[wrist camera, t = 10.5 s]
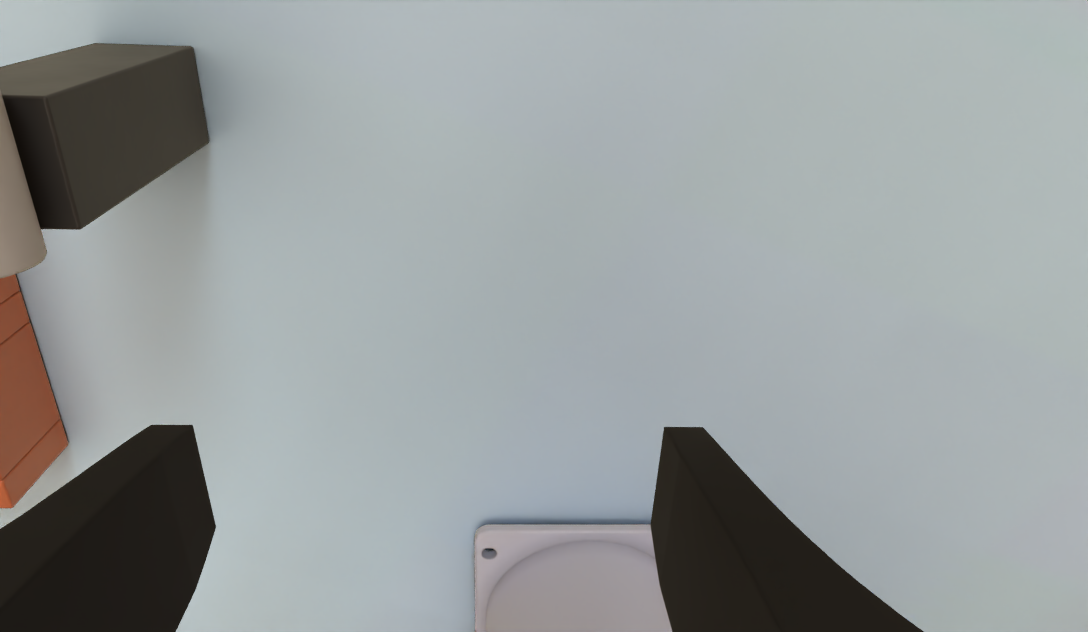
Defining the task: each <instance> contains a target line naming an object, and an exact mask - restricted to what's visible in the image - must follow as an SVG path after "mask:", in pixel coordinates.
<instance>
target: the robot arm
mask: <svg viewBox="0 0 1088 632" xmlns="http://www.w3.org/2000/svg"><path fill="white" fill-rule="evenodd" d="M215 528H216V525H215V521H214V517H213V512H212V508H211V503H210V499H209V495H208V490H207V486H206V481H205V477H204V473H203V468H202V464H201V460H200V455H199V451H198V446H197V442H196V438H195V433H194V429H193V425H151V426H149V427H147V428H146V429H144V430H143V431H141V432H139V433H138V434H136V435H135V436H133V437H132V438H130V439H129V440H128V441H126V442H125V443H123V444H122V445H120V446H119V447H118V448H116V449H115V450H113V451H112V452H110V453H109V454H108V455H106V456H105V457H103V458H102V459H101V460H99V461H98V462H96V463H95V464H94V465H92V466H91V467H89V468H88V469H87V470H85V471H84V472H82V473H81V474H80V475H78V476H77V477H75V478H74V479H73V480H71V481H70V482H68V483H67V484H65V485H64V486H63V487H61V488H60V489H58V490H57V491H56V492H54V493H53V494H51V495H50V496H48V497H47V498H46V499H44V500H43V501H41V502H40V503H38V504H37V505H36V506H34V507H33V508H31V509H30V510H28V511H27V512H26V513H24V514H23V515H21V516H20V517H18V518H17V519H15V520H13V521H12V522H10V523H9V524H7V525H6V526H4V527H3V528H1V529H0V632H176V630H177V628H178V625H179V623H180V621H181V619H182V617H183V615H184V613H185V611H186V609H187V607H188V604H189V602H190V600H191V598H192V596H193V594H194V592H195V589H196V587H197V584H198V581H199V578H200V575H201V572H202V569H203V566H204V563H205V560H206V557H207V554H208V551H209V548H210V544H211V541H212V538H213V535H214V532H215ZM486 548H492V549H494V550H492V551H487V550H485V549H486ZM475 632H923V631H922V630H921V629H919V628H918V627H916V626H915V625H914V624H912V623H911V622H910V621H908V620H907V619H905V618H904V617H903V616H901V615H900V614H899V613H897V612H896V611H895V610H894V609H892V608H891V607H890V606H888V605H887V604H886V603H885V602H883V601H882V600H881V599H880V598H878V597H877V596H876V595H874V594H873V593H872V592H871V591H869V590H868V589H867V588H866V587H864V586H863V585H862V584H860V583H859V582H858V581H857V580H856V579H854V578H853V577H852V576H851V575H850V574H848V573H847V572H846V571H845V570H844V569H842V568H841V567H840V566H839V565H838V564H837V563H836V562H834V561H833V560H832V559H831V558H830V557H829V556H828V555H827V554H826V553H825V552H823V551H822V550H821V549H820V548H819V547H818V546H817V545H816V544H815V543H813V542H812V541H811V540H810V539H809V538H808V537H807V536H806V535H805V534H804V533H803V532H802V531H801V530H800V529H798V528H797V527H796V526H795V525H794V524H793V523H792V522H791V521H790V520H789V519H788V518H787V517H786V516H785V515H784V514H783V513H782V512H781V511H780V510H779V509H778V508H777V507H776V506H775V505H774V504H773V503H772V502H771V501H770V500H769V499H768V498H767V496H766V495H765V494H764V493H763V492H762V491H761V490H760V489H759V488H758V487H757V486H756V485H755V484H754V483H753V482H752V481H751V479H750V478H749V477H748V476H747V475H746V474H745V473H744V472H743V471H742V470H741V469H740V468H739V466H738V465H737V464H736V463H735V462H734V461H733V460H732V459H731V458H730V456H729V455H728V454H727V453H726V452H725V451H724V450H723V449H722V448H721V447H720V445H719V444H718V443H717V442H716V441H715V440H714V439H713V438H712V437H711V436H710V435H709V433H708V432H707V431H706V430H705V429H704V428H703V427H664V433H663V440H662V447H661V454H660V461H659V468H658V476H657V483H656V490H655V497H654V504H653V511H652V519H651V524H489V525H483V526H481V527H479V528H478V530H477V531H476V533H475Z"/></svg>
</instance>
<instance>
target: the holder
mask: <svg viewBox="0 0 1088 632" xmlns="http://www.w3.org/2000/svg"><path fill="white" fill-rule="evenodd" d="M19 290H20V287H19V284H18V281H17V278H16V275H11V276H8V277H4V278H0V508H13V507H14V506H15V505H16V504H17V503H18V501H19V500H20V499H21V498H22V497H23V496H24V495H25V493H26V492H27V491H28V490H29V489H30V488H31V487H32V485H33V484H34V483H35V482H36V481H37V480H38V479H39V477H40V476H41V475H42V474H43V473H44V472H45V471H46V469H47V468H48V467H49V466H50V465H51V464H52V463H53V462H54V460H55V459H56V458H57V457H58V456H59V455H60V454H61V452H62V451H63V450H64V449H65V448H66V447H67V446H68V440H67V437H66V434H65V431H64V428H63V424H62V421H61V419H60V415H59V412H58V408H57V405H56V402H55V399H54V396H53V393H52V389H51V386H50V383H49V380H48V377H47V373H46V370H45V367H44V364H43V361H42V358H41V354H40V351H39V348H38V345H37V342H36V339H35V335H34V332H33V329H32V326H31V323H30V322H29V316H28V313H27V310H26V307H25V304H24V300H23V297H22V294H21V292H20V291H19Z"/></svg>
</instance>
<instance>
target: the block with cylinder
mask: <svg viewBox="0 0 1088 632" xmlns="http://www.w3.org/2000/svg"><path fill="white" fill-rule="evenodd" d="M208 143H209V138H208V132H207V126H206V120H205V114H204V108H203V103H202V97H201V91H200V85H199V79H198V73H197V67H196V61H195V56H194V50H193V47H191V46H165V45H134V44H104V43H94V44H90V45H86V46H82V47H78V48H74V49H70V50H66V51H62V52H58V53H54V54H50V55H46V56H42V57H38V58H34V59H30V60H26V61H22V62H18V63H14V64H10V65H6V66H2V67H0V278H4V277H8V276H11V275H15V274H18V273H20V272H23V271H26V270H28V269H30V268H32V267H34V266H36V265H38V264H39V263H41V262H42V261H43V260H44V259H45V257H46V254H47V250H46V246H45V243H44V239H43V236H42V232H41V229H82V228H83V227H85V226H86V225H88V224H89V223H91V222H92V221H94V220H95V219H97V218H98V217H100V216H101V215H103V214H104V213H106V212H107V211H108V210H110V209H111V208H113V207H114V206H116V205H117V204H119V203H120V202H122V201H123V200H125V199H126V198H128V197H129V196H131V195H132V194H134V193H135V192H137V191H138V190H140V189H141V188H143V187H144V186H146V185H147V184H149V183H150V182H151V181H153V180H154V179H156V178H157V177H159V176H160V175H162V174H163V173H165V172H166V171H168V170H169V169H171V168H172V167H174V166H175V165H177V164H178V163H180V162H181V161H183V160H184V159H186V158H187V157H189V156H190V155H192V154H193V153H194V152H196V151H197V150H199V149H200V148H202V147H203V146H205V145H206V144H208Z"/></svg>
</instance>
